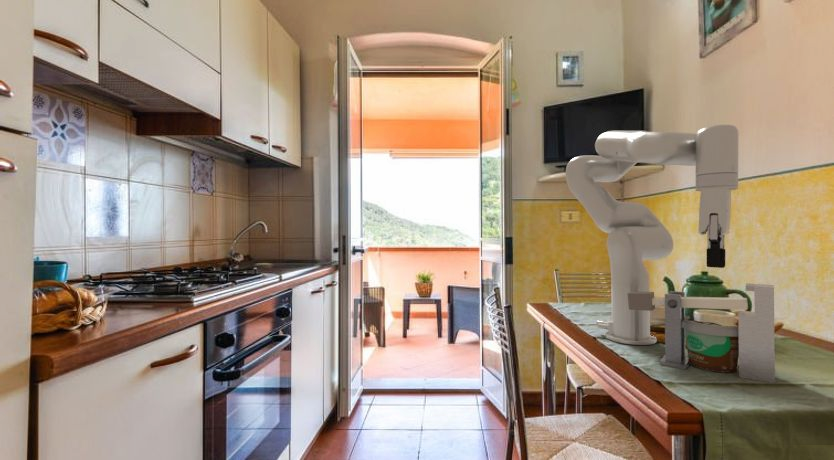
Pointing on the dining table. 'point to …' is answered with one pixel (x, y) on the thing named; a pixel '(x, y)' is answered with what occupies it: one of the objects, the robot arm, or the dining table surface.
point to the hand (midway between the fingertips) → (715, 266)
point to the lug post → (758, 336)
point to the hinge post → (674, 332)
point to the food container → (712, 345)
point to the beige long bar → (684, 302)
